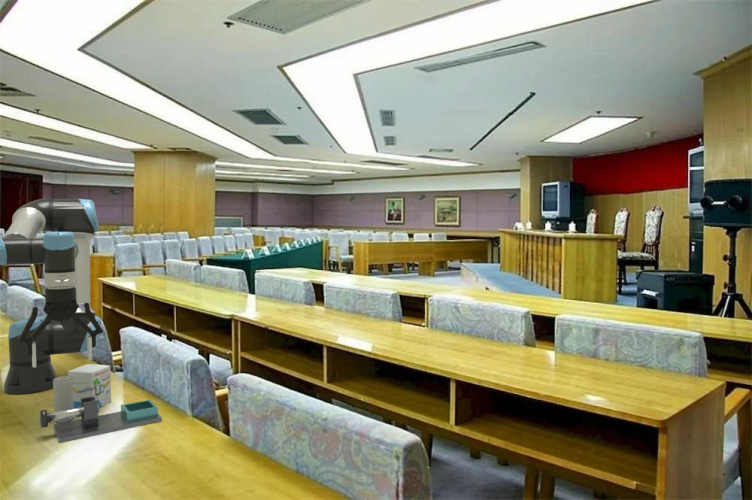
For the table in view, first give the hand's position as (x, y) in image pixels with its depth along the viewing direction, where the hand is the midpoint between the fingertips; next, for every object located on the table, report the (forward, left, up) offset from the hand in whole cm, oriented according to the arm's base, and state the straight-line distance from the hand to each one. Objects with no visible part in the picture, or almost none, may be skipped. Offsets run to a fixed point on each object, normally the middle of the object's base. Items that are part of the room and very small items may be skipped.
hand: (62, 362), depth 151 cm
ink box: (-9, +8, -17) cm, 21 cm away
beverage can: (0, 0, -17) cm, 17 cm away
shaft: (+11, 0, -14) cm, 17 cm away
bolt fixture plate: (+11, +9, -16) cm, 22 cm away
